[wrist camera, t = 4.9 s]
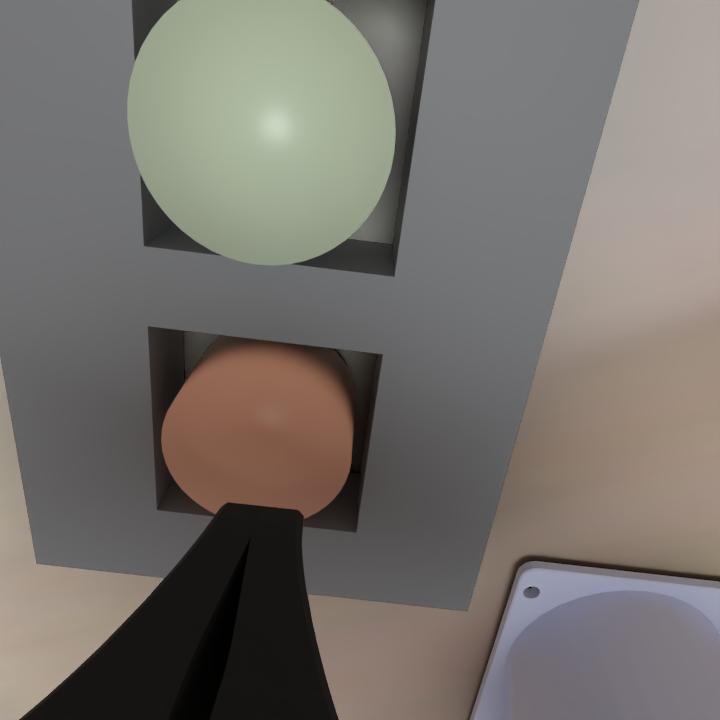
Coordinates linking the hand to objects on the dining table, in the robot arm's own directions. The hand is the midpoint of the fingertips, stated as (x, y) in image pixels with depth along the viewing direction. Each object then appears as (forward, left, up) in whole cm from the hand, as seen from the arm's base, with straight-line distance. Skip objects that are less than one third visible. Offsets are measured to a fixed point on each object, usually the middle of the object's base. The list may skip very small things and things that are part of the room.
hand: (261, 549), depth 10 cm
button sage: (+7, +1, -5) cm, 8 cm away
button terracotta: (0, +1, -6) cm, 6 cm away
